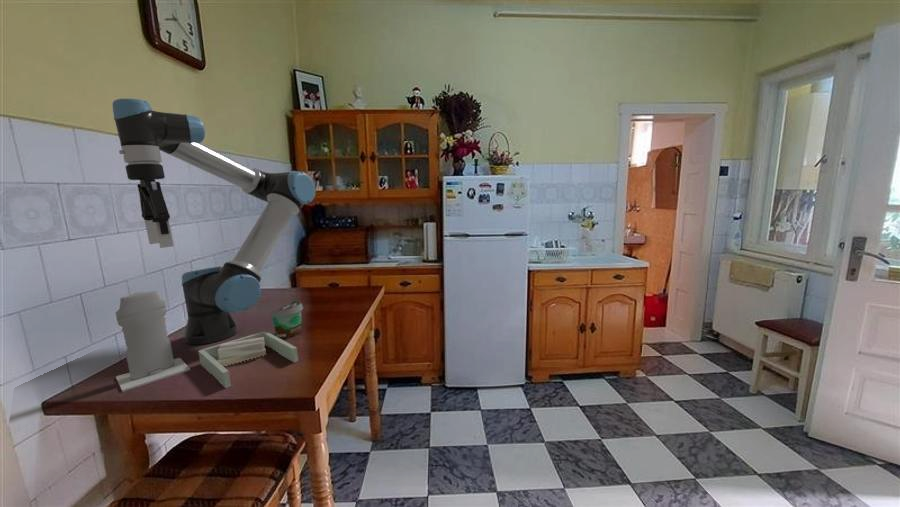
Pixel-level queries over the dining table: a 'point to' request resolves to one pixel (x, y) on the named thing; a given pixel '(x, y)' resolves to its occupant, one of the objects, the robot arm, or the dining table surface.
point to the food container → (288, 320)
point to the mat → (151, 376)
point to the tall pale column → (145, 334)
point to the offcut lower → (239, 358)
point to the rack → (270, 340)
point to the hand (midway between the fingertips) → (161, 245)
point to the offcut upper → (241, 347)
